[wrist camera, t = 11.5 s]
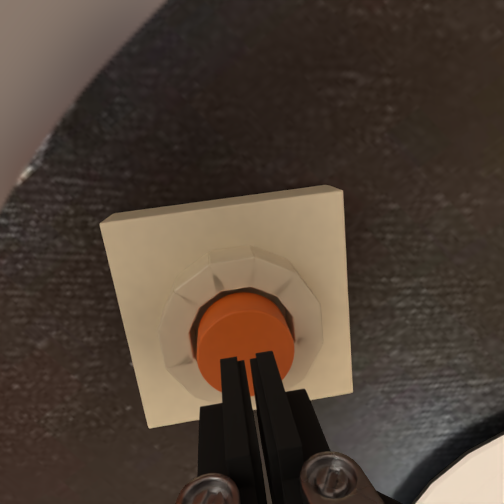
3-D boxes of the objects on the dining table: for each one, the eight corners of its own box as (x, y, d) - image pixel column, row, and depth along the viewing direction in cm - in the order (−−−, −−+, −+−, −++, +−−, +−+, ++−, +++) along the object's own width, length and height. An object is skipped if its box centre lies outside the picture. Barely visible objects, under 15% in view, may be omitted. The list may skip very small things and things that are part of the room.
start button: (190, 298, 15) (188, 318, 13) (281, 285, 15) (290, 302, 13) (205, 377, 16) (204, 405, 14) (289, 363, 16) (299, 389, 14)
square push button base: (112, 213, 17) (84, 233, 13) (327, 184, 18) (360, 195, 14) (154, 399, 20) (141, 460, 16) (338, 367, 21) (368, 419, 17)
